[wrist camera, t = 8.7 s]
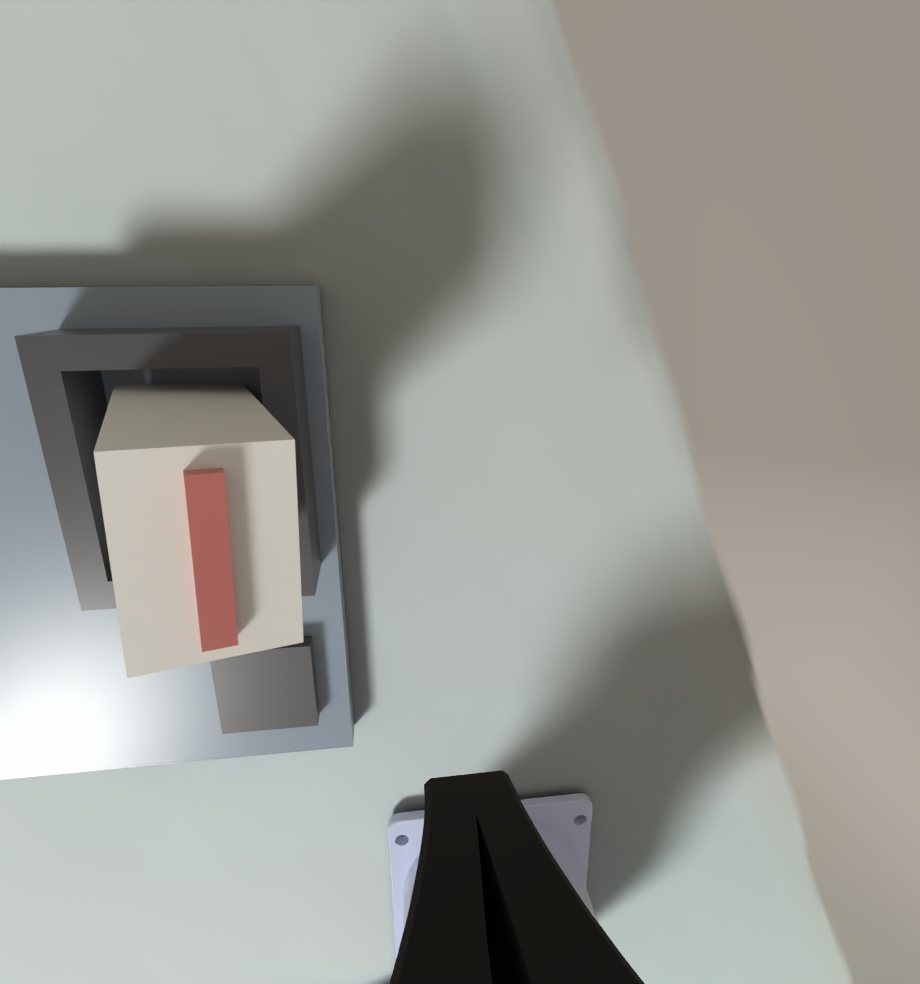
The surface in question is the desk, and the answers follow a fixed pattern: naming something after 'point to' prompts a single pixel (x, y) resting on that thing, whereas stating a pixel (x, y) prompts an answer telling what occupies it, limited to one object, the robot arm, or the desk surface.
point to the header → (82, 407)
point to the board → (96, 633)
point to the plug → (199, 524)
